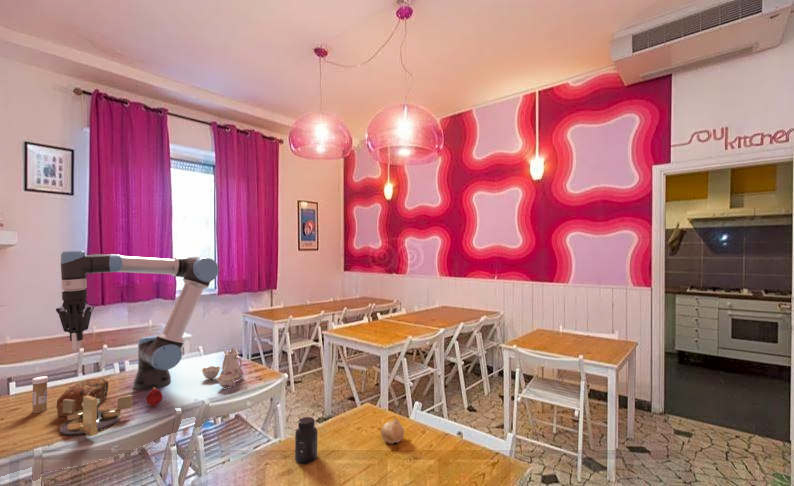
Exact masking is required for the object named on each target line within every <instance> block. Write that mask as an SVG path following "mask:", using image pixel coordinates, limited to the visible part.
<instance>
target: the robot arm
mask: <svg viewBox="0 0 794 486" xmlns="http://www.w3.org/2000/svg"><path fill="white" fill-rule="evenodd" d="M219 271H220V270H219V266H218V263H217V262H216V261H215V260H214V259H212V258H211V257H207V256H190V257H189V256H188V257H187V256H186V257H176V256H175V257H173V258H164V257H163V258H160V257H147V256H146V257H145V256H130V255H121V254H119V253H117V254H114V253H110V254H108V253H107V254H102V253H92V254H89V255H88V254H86V251H85V250H66V251H65V250H64V251H62V253H61V255H60V273H61V277H60V278H61V290H62V292H61V300H62V305H61V306H60V307H57V308H55V311H56V313H57V314H58V317H59V319H60V323H61V327H62V330H63V332H65V333H69V341H70V342H71V349H72V351H77V350H80V349H81V348H82V340H84V332H85V331H88V329H89V327H90V321H91V317H92V312H93V311H94V309H95V306H94V305H90V304H88V302H87V298H88V291H87V288H88V285H87V282H88V281H87V275H88V274H89V275H90V274H91V275H92V274H102V273H103V274H105V273H111V274H112V273H133V274H134V273H135V274H156V275H171V276H172V277H179V278H183V279H182V282H184V285H183V287H182V288H181V289H182V290H181V292H179V293H180V294H179V296H178V298H177V301H176V303H175V304H174V307H173V309H172V311H171V312H170V316H169V318H168V319H167V322H166V323H165V324H166V325H165V327H164V329H163V331H162V332H161V333H159V334H158V335H150V336H144V337H141V338H139V340H138V344H137V346H138V347H137V349H138V350H137V351H138V352H137V353H138V356H137V360H138V361H137V367H138V368H137V372H136V374H135V377H134V380H133V384H132V385H133V387H132V388H133V389H135V390H143V391H144V390H153V388H154V387H155V388H156V389H157V388H160V387H164V386H166V385H169V384H170V383H171V381H172V379H171V378H172V376H171V373H170V371H169V370H172V369H173V368H175V367H176V366H177V365H178V364H179V363H180V361H181V360H182V356H183V352H182V348H183V345H184V343H185V342H184V340H183V336H184V335H185V332H186V329H187V327H188V325H189V322H190V321H191V318H192V316H193V314H194V311H195V309H196V307H197V305H198V302H199V300H200V298H201V296H202V294H203V291H204V290H206V289H207V288H209V286H210V284H211V282H212V281H213V280H215V279H216V278H217V277H218V274H219Z"/></svg>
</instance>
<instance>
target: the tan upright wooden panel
mask: <svg viewBox="0 0 794 486" xmlns="http://www.w3.org/2000/svg"><path fill="white" fill-rule="evenodd" d="M78 430H79V431H81V432H83V433H85V434H84V435H87V436H89V437H92V436H95V435H96V436H97V435H98V432H99V431H98V429H97V399H96V398H94V397H92V396H89V395H86V396H83V419H78V420H75V421H72V422H70V423H69V424H68V431H78Z"/></svg>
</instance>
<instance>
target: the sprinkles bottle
mask: <svg viewBox="0 0 794 486" xmlns="http://www.w3.org/2000/svg"><path fill="white" fill-rule="evenodd" d="M48 381H49V377H48V376H47V375H44V376H43V375H42V376H37V377H33V378H32V381H31V384H32V393H31V396H32V398H31V399H32V401H31V403H32V411H31V413H32V414H39V413H43V412H46V411H47V410H48Z"/></svg>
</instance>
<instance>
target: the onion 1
mask: <svg viewBox="0 0 794 486" xmlns="http://www.w3.org/2000/svg"><path fill="white" fill-rule="evenodd" d="M162 400H163V393H162V391H161V390H159V389H157V388H155V387H154V388H153V389H151V390H150V391H149V392H148V393H147V395H146V397H145V402H146V404H147V405H149V406H150V407H152V408H155V407H157V406H158V405H159V404H160V403H161V402H162Z"/></svg>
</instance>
